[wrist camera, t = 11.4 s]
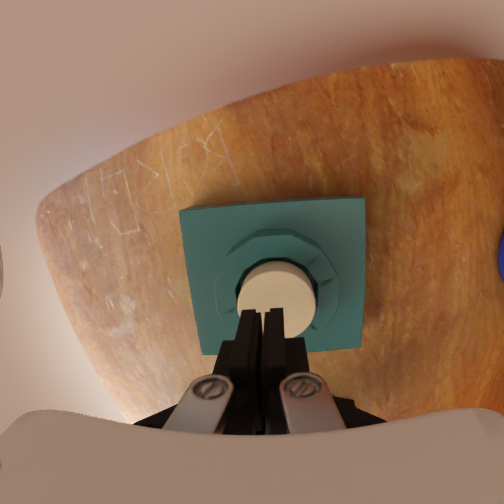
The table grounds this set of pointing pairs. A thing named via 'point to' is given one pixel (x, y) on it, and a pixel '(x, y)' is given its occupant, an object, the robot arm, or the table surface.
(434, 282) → the table surface
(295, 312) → the button
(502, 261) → the mug
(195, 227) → the button block
